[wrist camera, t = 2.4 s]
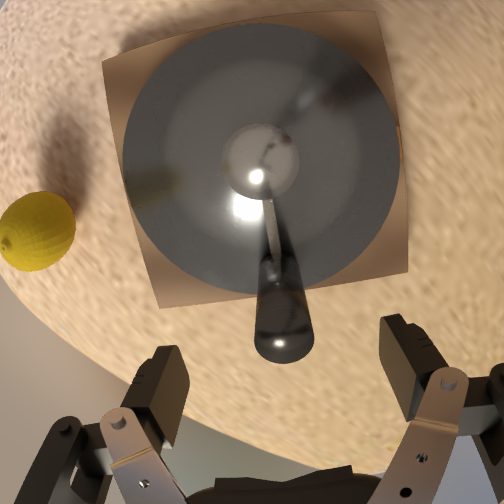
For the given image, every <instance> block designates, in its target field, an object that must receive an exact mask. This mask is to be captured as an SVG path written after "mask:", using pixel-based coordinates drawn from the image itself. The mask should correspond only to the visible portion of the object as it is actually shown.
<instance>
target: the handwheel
mask: <svg viewBox="0 0 504 504" xmlns="http://www.w3.org/2000/svg"><path fill="white" fill-rule="evenodd" d="M122 160H123V175H124V181H125V187H126V191H127V194H128V198H129V201H130V204H131V207H132V209H133V211H134V213H135V216H136V218H137V220H138V222H139V224H140V225H141V227H142V228H143V230H144V232H145V233H146V235H147V236H148V238H149V239H150V240H151V241H152V243H153V244H154V245H155V246H156V247H157V249H158V250H159V251H160V252H161V253H162V254H163V255H164V256H165V257H166V258H168V259H169V260H170V261H171V262H172V263H173V264H175V265H176V266H177V267H179V268H180V269H181V270H183V271H184V272H186V273H188V274H189V275H191V276H193V277H195V278H196V279H198V280H200V281H202V282H205V283H207V284H210V285H212V286H214V287H218V288H221V289H225V290H228V291H232V292H238V293H245V294H257V306H256V322H255V337H254V343H255V347H256V350H257V351H258V353H259V354H260V355H261V356H262V357H263V358H265V359H266V360H268V361H271V362H274V363H279V364H287V363H293V362H296V361H298V360H300V359H302V358H303V357H305V356H306V355H307V354H308V353H309V352H310V350H311V349H312V347H313V344H314V333H313V328H312V323H311V318H310V314H309V309H308V305H307V300H306V296H305V291H304V288H306V287H309V286H312V285H315V284H317V283H319V282H321V281H323V280H325V279H327V278H329V277H331V276H333V275H335V274H336V273H338V272H339V271H341V270H342V269H344V268H345V267H347V266H348V265H349V264H350V263H351V262H353V261H354V260H355V259H356V258H357V257H358V256H359V255H360V254H361V253H362V252H363V251H364V250H365V249H366V248H367V247H368V246H369V245H370V243H371V242H372V241H373V239H374V238H375V236H376V235H377V234H378V232H379V231H380V229H381V228H382V226H383V224H384V222H385V220H386V218H387V216H388V214H389V212H390V209H391V206H392V204H393V201H394V198H395V194H396V190H397V185H398V181H399V171H400V148H399V140H398V134H397V129H396V125H395V122H394V119H393V116H392V113H391V110H390V108H389V105H388V103H387V101H386V99H385V97H384V95H383V93H382V92H381V90H380V89H379V87H378V86H377V84H376V83H375V81H374V80H373V78H372V77H371V76H370V75H369V73H368V72H367V71H366V70H365V69H364V68H363V67H362V66H361V65H360V64H359V62H357V61H356V60H355V59H354V58H353V57H351V56H350V55H349V54H348V53H347V52H345V51H344V50H343V49H341V48H340V47H338V46H336V45H335V44H333V43H332V42H330V41H328V40H327V39H324V38H322V37H320V36H318V35H316V34H313V33H311V32H308V31H305V30H302V29H298V28H295V27H291V26H285V25H278V24H265V23H252V24H243V25H235V26H231V27H227V28H223V29H219V30H216V31H213V32H211V33H208V34H206V35H203V36H201V37H199V38H197V39H195V40H193V41H191V42H190V43H188V44H186V45H185V46H183V47H181V48H180V49H179V50H177V51H176V52H175V53H174V54H172V55H171V56H170V57H169V58H167V59H166V60H165V61H164V62H163V63H162V64H161V65H160V66H159V67H158V68H157V69H156V70H155V72H154V73H153V74H152V75H151V77H150V78H149V79H148V81H147V82H146V84H145V85H144V86H143V88H142V90H141V92H140V93H139V95H138V97H137V99H136V101H135V103H134V105H133V108H132V110H131V113H130V116H129V118H128V122H127V126H126V130H125V135H124V142H123V152H122Z"/></svg>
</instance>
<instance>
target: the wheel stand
mask: <svg viewBox="0 0 504 504" xmlns="http://www.w3.org/2000/svg"><path fill="white" fill-rule="evenodd" d="M252 23H265V24H278V25H285V26H291V27H295V28H298V29H302V30H305V31H308V32H311V33H313V34H316V35H318V36H320V37H322V38H324V39H327V40H328V41H330V42H332V43H333V44H335V45H336V46H338V47H340V48H341V49H343V50H344V51H345V52H347V53H348V54H349V55H350V56H351V57H353V58H354V59H355V60H356V61H357V62H359V64H360V65H361V66H362V67H363V68H364V69H365V70H366V71H367V72H368V73H369V75H370V76H371V77H372V78H373V80H374V81H375V83H376V84H377V86H378V87H379V89H380V90H381V92H382V93H383V95H384V97H385V99H386V101H387V103H388V105H389V108H390V110H391V113H392V116H393V119H394V122H395V125H396V129H397V134H398V140H399V148H400V171H399V181H398V185H397V190H396V194H395V198H394V201H393V204H392V206H391V209H390V212H389V214H388V216H387V218H386V220H385V222H384V224H383V226H382V228H381V229H380V231H379V232H378V234H377V235H376V236H375V238H374V239H373V241H372V242H371V243H370V245H369V246H368V247H367V248H366V249H365V250H364V251H363V252H362V253H361V254H360V255H359V256H358V257H357V258H356V259H355V260H354V261H353V262H351V263H350V264H349V265H348V266H347V267H345V268H344V269H342V270H341V271H339V272H338V273H336V274H335V275H333V276H331V277H329V278H327V279H325V280H323V281H321V282H319V283H317V284H315V285H312V286H309V287H306V288H304V290H308V289H314V288H321V287H327V286H333V285H339V284H345V283H351V282H357V281H363V280H368V279H374V278H379V277H385V276H390V275H396V274H401V273H406V272H408V215H407V195H406V181H405V169H404V158H403V149H402V141H401V133H400V125H399V118H398V112H397V106H396V100H395V94H394V89H393V83H392V78H391V73H390V68H389V64H388V59H387V55H386V51H385V46H384V42H383V38H382V35H381V31H380V27H379V23H378V20H377V16H376V13H375V11H327V12H309V13H296V14H286V15H277V16H269V17H262V18H255V19H249V20H243V21H238V22H232V23H227V24H222V25H217V26H213V27H208V28H204V29H200V30H196V31H192V32H188V33H184V34H181V35H177V36H173V37H170V38H167V39H163V40H160V41H157V42H154V43H151V44H148V45H145V46H142V47H139V48H136V49H133V50H130V51H128V52H125V53H122V54H120V55H117V56H114V57H112V58H109V59H107V60H104V61H102V68H103V76H104V83H105V90H106V96H107V103H108V109H109V115H110V120H111V126H112V131H113V136H114V142H115V147H116V151H117V156H118V161H119V166H120V170H121V175H122V179H123V183H124V187H125V181H124V175H123V160H122V152H123V142H124V135H125V130H126V126H127V122H128V118H129V116H130V113H131V110H132V108H133V105H134V103H135V101H136V99H137V97H138V95H139V93H140V92H141V90H142V88H143V86H144V85H145V84H146V82H147V81H148V79H149V78H150V77H151V75H152V74H153V73H154V72H155V70H156V69H157V68H158V67H159V66H160V65H161V64H162V63H163V62H164V61H165V60H166V59H167V58H169V57H170V56H171V55H172V54H174V53H175V52H176V51H177V50H179V49H180V48H181V47H183V46H185V45H186V44H188V43H190V42H191V41H193V40H195V39H197V38H199V37H201V36H203V35H206V34H208V33H211V32H213V31H216V30H219V29H223V28H227V27H231V26H235V25H243V24H252ZM125 192H126V196H127V200H128V204H129V208H130V212H131V216H132V219H133V223H134V227H135V231H136V234H137V238H138V241H139V245H140V248H141V252H142V255H143V259H144V262H145V265H146V268H147V272H148V275H149V278H150V281H151V284H152V288H153V291H154V294H155V297H156V300H157V303H158V306H159V309H162V308H172V307H181V306H190V305H198V304H206V303H215V302H223V301H230V300H238V299H246V298H253V297H257V294H245V293H238V292H232V291H228V290H225V289H221V288H218V287H214V286H212V285H210V284H207V283H205V282H202V281H200V280H198V279H196V278H195V277H193V276H191V275H189V274H188V273H186V272H184V271H183V270H181V269H180V268H179V267H177V266H176V265H175V264H173V263H172V262H171V261H170V260H169V259H168V258H166V257H165V256H164V255H163V254H162V253H161V252H160V251H159V250H158V249H157V247H156V246H155V245H154V244H153V243H152V241H151V240H150V239H149V238H148V236H147V235H146V233H145V232H144V230H143V228H142V227H141V225H140V224H139V222H138V220H137V218H136V216H135V213H134V211H133V209H132V207H131V204H130V201H129V198H128V194H127V191H126V187H125Z"/></svg>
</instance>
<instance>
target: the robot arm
mask: <svg viewBox="0 0 504 504" xmlns="http://www.w3.org/2000/svg"><path fill="white" fill-rule="evenodd" d="M379 356H380V361H381V364H382V366H383V368H384V371H385V373H386V375H387V377H388V380H389V382H390V384H391V386H392V389H393V391H394V393H395V396H396V398H397V400H398V403H399V405H400V407H401V410H402V412H403V415H404V417H405V420H406V422H409V421H411V422H410V424H409V426H408V428H407V430H406V433H405V435H404V437H403V439H402V441H401V443H400V445H399V447H398V449H397V451H396V453H395V455H394V457H393V459H392V461H391V463H390V465H389V467H388V468H387V470H386V472H385V474H384V476H383V478H379V477H376V476H372V475H368V474H359V473H353V471H352V466H351V465H348V466H343V467H337V468H332V469H325V470H319V471H315V472H313V473H310V474H307V475H304V476H301V477H298V478H295V479H292V480H289V481H285V482H277V481H268V480H262V479H255V478H249V477H244V478H215V485H214V487H210V488H207V489H203V490H201V491H198V492H196V493H194V494H192V495H191V496H189V497H188V496H187V495H186V494H185V492H184V491H183V489H182V488H181V487H180V485H179V484H178V482H177V480H176V479H175V478H174V476H173V474H172V473H171V471H170V470H169V468H168V467H167V465H166V463H165V462H164V460H163V458H162V457H161V455H160V453H161V450H162V448H169V449H171V448H172V449H173V446H174V442H175V438H176V434H177V431H178V427H179V423H180V420H181V416H182V413H183V409H184V405H185V402H186V398H187V395H188V391H189V387H190V380H189V374H188V372H187V369H186V366H185V364H184V361H183V358H182V355H181V353H180V350H179V348H178V346H177V345H169V346H158V347H157V349H156V351H155V353H154V355H153V358H152V359H147V360H146V361H145V362H144V363H143V364H142V365H141V366H140V367H139V369H138V371H137V373H136V375H135V376H136V377H134V379H133V381H132V384H131V385H130V387H129V389H128V392H127V393H126V396H125V398H124V400H123V402H122V404H121V406H120V407H119V408H115V409H112V410H110V411H109V412H107V413H106V414H105V415H104V416H103V417H102V419H101V421H100V423H94V424H89V425H82V423H81V422H80V421H79V419H78V418H76V417H73V416H66V417H63V418H61V419H59V420H57V421H56V422H55V423H54V424H53V426H52V427H51V429H50V431H49V433H48V435H47V436H46V438H45V440H44V442H43V444H42V446H41V448H40V450H39V452H38V454H37V456H36V458H35V460H34V462H33V464H32V466H31V468H30V470H29V472H28V474H27V476H26V478H25V480H24V482H23V485H22V487H21V489H20V491H19V493H18V495H17V498H16V500H15V502H14V504H104V503H105V500H106V496H107V492H108V490H109V486H110V483H111V480H112V476H113V475H114V477H115V480H116V482H117V485H118V487H119V489H120V491H121V494H122V496H123V498H124V500H125V503H126V504H432V501H433V499H434V497H435V495H436V492H437V490H438V487H439V485H440V483H441V480H442V477H443V475H444V472H445V469H446V467H447V464H448V461H449V458H450V456H451V452H452V449H453V446H454V443H455V440H456V437H457V436H467V435H471V436H472V438H473V440H474V443H475V445H476V447H477V450H478V452H479V454H480V457H481V459H482V462H483V464H484V466H485V469H486V471H487V474H488V477H489V479H490V482H491V485H492V487H493V490H494V493H495V495H496V498H497V501H498V504H504V363H500V364H497V365H496V366H494V367H493V368H492V370H491V372H490V374H489V376H486V377H474V378H469V377H467V375H466V374H465V373H464V372H463V371H462V370H460V369H457V368H454V367H449V366H448V364H447V363H446V361H445V360H444V358H443V357H442V355H441V354H440V352H439V351H438V349H437V348H436V347H435V345H433V342H432V341H431V339H430V338H429V337H428V335H427V334H426V332H425V331H424V330H423V329H422V328H421V327H419V326H417V325H416V324H414V323H411V324H407V323H406V322H405V320H404V319H403V317H402V316H401V315H400V314H399V313H398V314H394V315H389V316H384V317H381V319H380V334H379ZM75 466H76V467H77V468H78V469H77V472H76V475H75V477H74V480H73V482H72V485H71V486H70V478H71V475H72V473H73V470H74V468H75Z"/></svg>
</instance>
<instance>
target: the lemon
mask: <svg viewBox="0 0 504 504" xmlns="http://www.w3.org/2000/svg"><path fill="white" fill-rule="evenodd" d="M75 230H76V222H75V218H74V214H73V211H72V209H71V207H70V206H69V204H68V203H67V202H66V201H65V200H64V199H63V198H62V197H60V196H58V195H57V194H55V193H51V192H45V191H40V192H34V193H29V194H27V195H25V196H23V197H21V198H20V199H18V200H16V201H15V202H14V203H12V204H11V205H10V206H9V207H8V209H7V210H6V211H5V212H4V214H3V215H2V217H1V220H0V252H1V254H2V256H3V257H4V259H5V260H6V261H7V262H8V263H9V264H10V265H11V266H13V267H14V268H16V269H18V270H21V271H26V272H32V271H38V270H42V269H45V268H47V267H49V266H51V265H53V264H54V263H56V262H58V261H59V260H60V259H61V258H62V257H63V256H64V255H65V254H66V252H67V251H68V250H69V248H70V246H71V244H72V242H73V240H74V236H75Z"/></svg>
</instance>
